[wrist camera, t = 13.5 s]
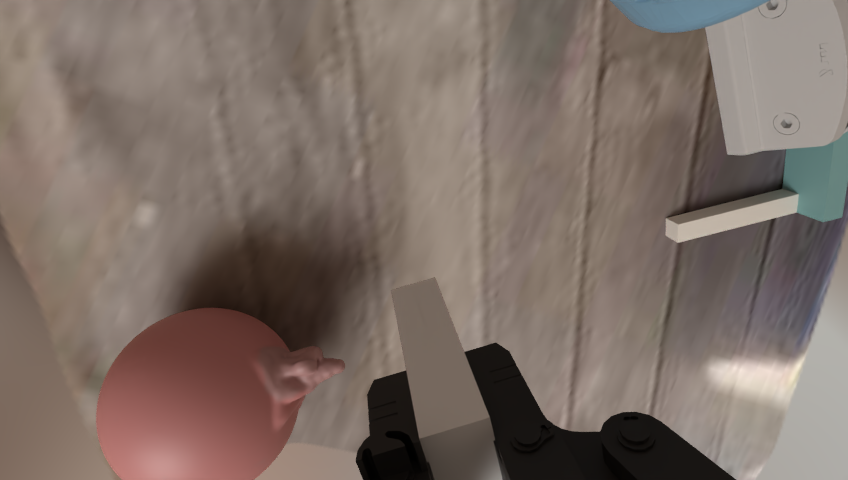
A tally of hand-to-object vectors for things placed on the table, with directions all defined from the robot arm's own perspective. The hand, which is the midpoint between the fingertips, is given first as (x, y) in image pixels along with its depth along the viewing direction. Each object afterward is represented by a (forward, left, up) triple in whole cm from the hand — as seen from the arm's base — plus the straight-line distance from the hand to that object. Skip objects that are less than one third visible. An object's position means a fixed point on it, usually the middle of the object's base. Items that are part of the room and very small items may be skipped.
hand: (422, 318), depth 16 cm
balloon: (+16, -17, -29) cm, 37 cm away
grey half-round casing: (0, +36, -30) cm, 47 cm away
